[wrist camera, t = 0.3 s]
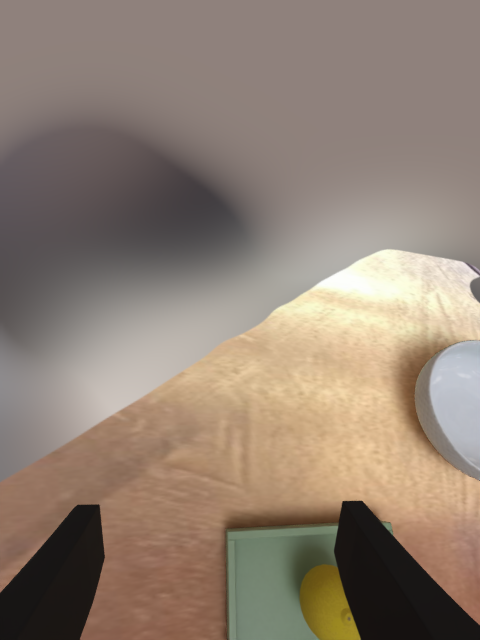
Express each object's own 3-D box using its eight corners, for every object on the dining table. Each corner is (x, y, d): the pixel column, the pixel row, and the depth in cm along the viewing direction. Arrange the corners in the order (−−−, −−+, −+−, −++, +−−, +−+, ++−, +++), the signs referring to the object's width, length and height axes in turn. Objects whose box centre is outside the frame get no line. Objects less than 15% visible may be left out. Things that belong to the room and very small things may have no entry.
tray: (405, 656, 32) (421, 670, 29) (227, 675, 30) (230, 691, 28) (379, 520, 37) (391, 522, 35) (225, 528, 35) (227, 531, 33)
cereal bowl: (431, 502, 38) (476, 506, 32) (377, 369, 45) (405, 350, 39) (546, 470, 42) (607, 467, 35) (478, 350, 49) (520, 330, 42)
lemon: (333, 550, 35) (367, 567, 28) (351, 616, 32) (394, 652, 25) (284, 565, 34) (306, 587, 27) (299, 634, 31) (329, 678, 24)
